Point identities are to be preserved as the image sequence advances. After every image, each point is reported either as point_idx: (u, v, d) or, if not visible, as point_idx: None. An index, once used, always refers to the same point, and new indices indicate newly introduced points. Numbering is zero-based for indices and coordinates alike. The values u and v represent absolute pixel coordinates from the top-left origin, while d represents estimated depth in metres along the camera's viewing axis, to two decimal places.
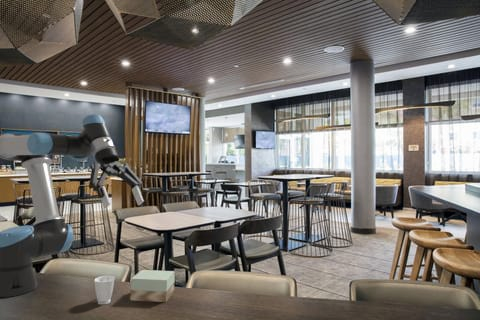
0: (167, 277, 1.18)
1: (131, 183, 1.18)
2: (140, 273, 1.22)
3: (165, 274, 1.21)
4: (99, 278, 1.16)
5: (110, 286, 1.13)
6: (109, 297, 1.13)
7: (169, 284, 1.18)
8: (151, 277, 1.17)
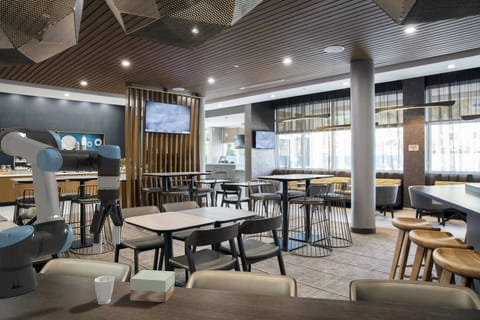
0: (166, 277, 1.18)
1: (115, 222, 1.22)
2: (140, 273, 1.22)
3: (165, 275, 1.20)
4: (99, 278, 1.16)
5: (110, 286, 1.13)
6: (109, 297, 1.13)
7: (169, 285, 1.18)
8: (150, 277, 1.17)
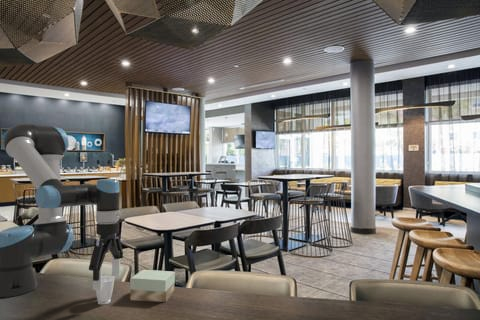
0: (166, 277, 1.18)
1: (115, 255, 1.22)
2: (140, 273, 1.22)
3: (165, 274, 1.21)
4: None
5: (110, 286, 1.13)
6: (109, 297, 1.13)
7: (169, 285, 1.18)
8: (150, 277, 1.18)
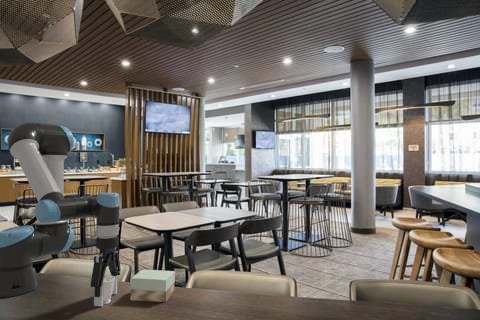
0: (166, 276, 1.18)
1: (113, 271, 1.20)
2: (140, 273, 1.22)
3: (165, 274, 1.21)
4: None
5: (110, 286, 1.13)
6: (109, 297, 1.13)
7: (169, 284, 1.18)
8: (150, 277, 1.18)
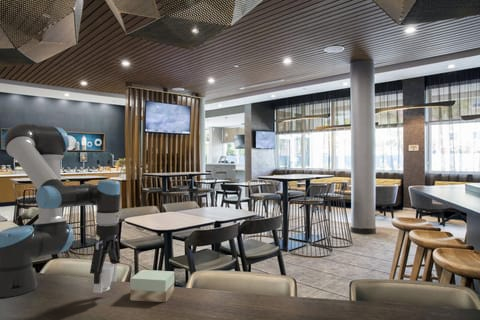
0: (166, 277, 1.18)
1: (112, 258, 1.21)
2: (140, 273, 1.22)
3: (164, 274, 1.21)
4: None
5: (109, 273, 1.13)
6: (108, 284, 1.14)
7: (168, 285, 1.18)
8: (150, 277, 1.18)
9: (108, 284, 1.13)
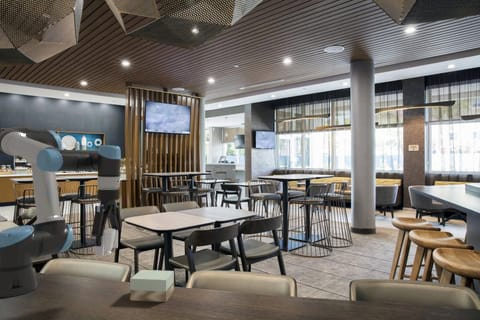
0: (166, 276, 1.18)
1: (113, 225, 1.21)
2: (139, 273, 1.22)
3: (164, 274, 1.21)
4: None
5: (111, 237, 1.13)
6: (110, 248, 1.14)
7: (169, 284, 1.18)
8: (150, 277, 1.17)
9: (110, 248, 1.13)
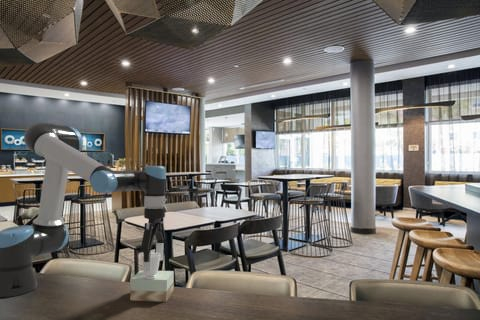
0: (166, 276, 1.18)
1: (159, 239, 1.27)
2: (139, 273, 1.22)
3: (164, 274, 1.21)
4: None
5: (157, 261, 1.16)
6: (155, 272, 1.17)
7: (169, 284, 1.19)
8: None
9: (155, 272, 1.16)
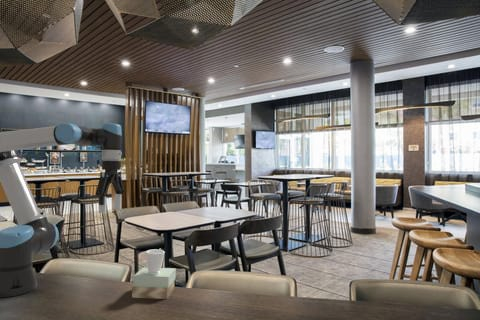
0: (168, 273, 1.22)
1: (117, 190, 1.43)
2: (142, 270, 1.25)
3: (166, 271, 1.24)
4: (149, 251, 1.23)
5: (161, 258, 1.21)
6: (159, 269, 1.21)
7: (171, 281, 1.22)
8: None
9: (159, 268, 1.21)
